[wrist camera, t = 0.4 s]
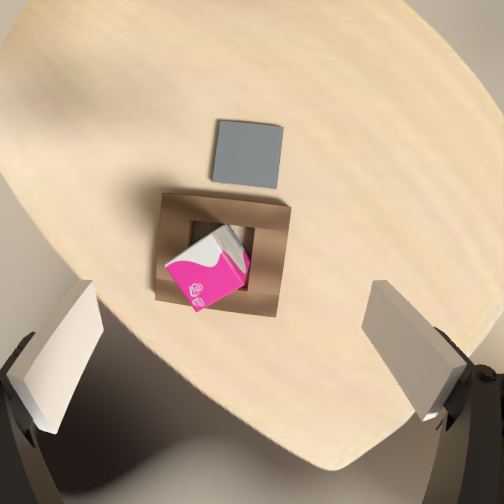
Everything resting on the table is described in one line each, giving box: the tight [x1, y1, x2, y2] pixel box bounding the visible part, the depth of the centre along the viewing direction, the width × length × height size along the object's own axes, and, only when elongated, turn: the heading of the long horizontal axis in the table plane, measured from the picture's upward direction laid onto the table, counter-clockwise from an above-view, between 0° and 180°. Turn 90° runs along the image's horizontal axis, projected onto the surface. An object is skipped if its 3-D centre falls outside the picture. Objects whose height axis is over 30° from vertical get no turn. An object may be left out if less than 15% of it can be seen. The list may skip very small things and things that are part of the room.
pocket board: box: [155, 193, 291, 317], centre depth 38 cm, size 14×16×2 cm
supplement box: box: [165, 224, 251, 312], centre depth 33 cm, size 6×6×12 cm
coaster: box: [212, 121, 284, 189], centre depth 36 cm, size 8×8×1 cm
